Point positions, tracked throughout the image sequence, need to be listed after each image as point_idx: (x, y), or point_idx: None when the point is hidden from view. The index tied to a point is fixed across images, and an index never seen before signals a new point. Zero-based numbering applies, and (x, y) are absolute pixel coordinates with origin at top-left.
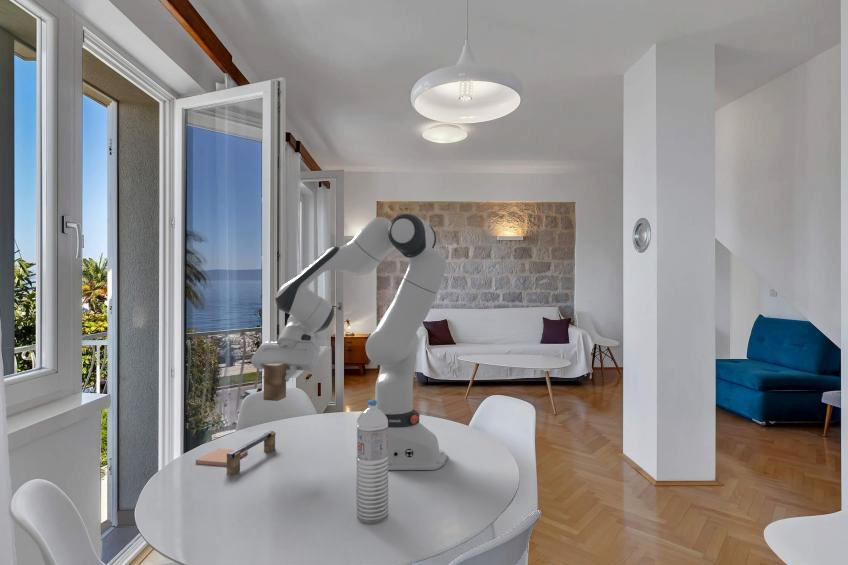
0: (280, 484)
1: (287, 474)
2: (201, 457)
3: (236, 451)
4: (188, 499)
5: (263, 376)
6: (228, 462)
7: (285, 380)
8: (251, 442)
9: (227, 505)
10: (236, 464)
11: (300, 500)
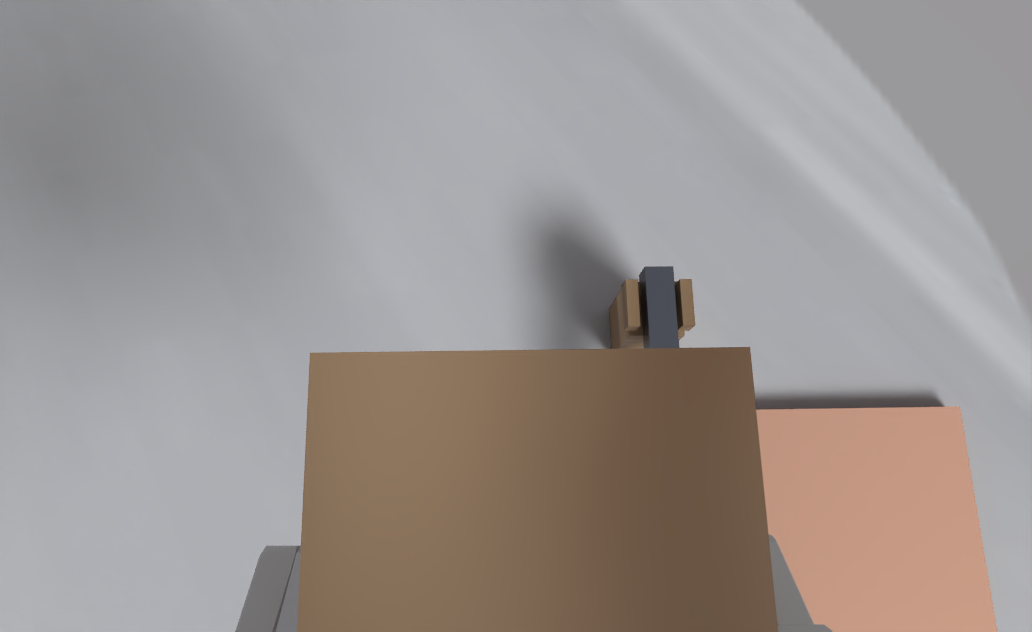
0: (296, 250)
1: None
2: (963, 451)
3: (650, 314)
4: (626, 39)
5: (772, 538)
6: None
7: None
8: None
9: (421, 22)
10: (619, 311)
11: (118, 115)
